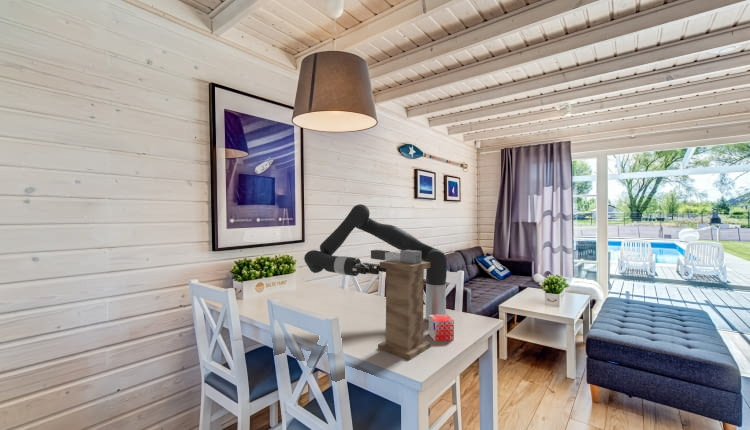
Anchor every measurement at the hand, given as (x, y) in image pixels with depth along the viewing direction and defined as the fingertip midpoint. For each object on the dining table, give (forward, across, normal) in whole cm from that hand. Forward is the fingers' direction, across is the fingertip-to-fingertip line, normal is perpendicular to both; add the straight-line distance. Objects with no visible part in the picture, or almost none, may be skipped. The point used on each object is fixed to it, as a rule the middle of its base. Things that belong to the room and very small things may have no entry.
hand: (383, 270), depth 127 cm
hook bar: (+6, -3, -5) cm, 8 cm away
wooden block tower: (+11, -3, +27) cm, 29 cm away
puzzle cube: (+22, +14, +26) cm, 37 cm away
